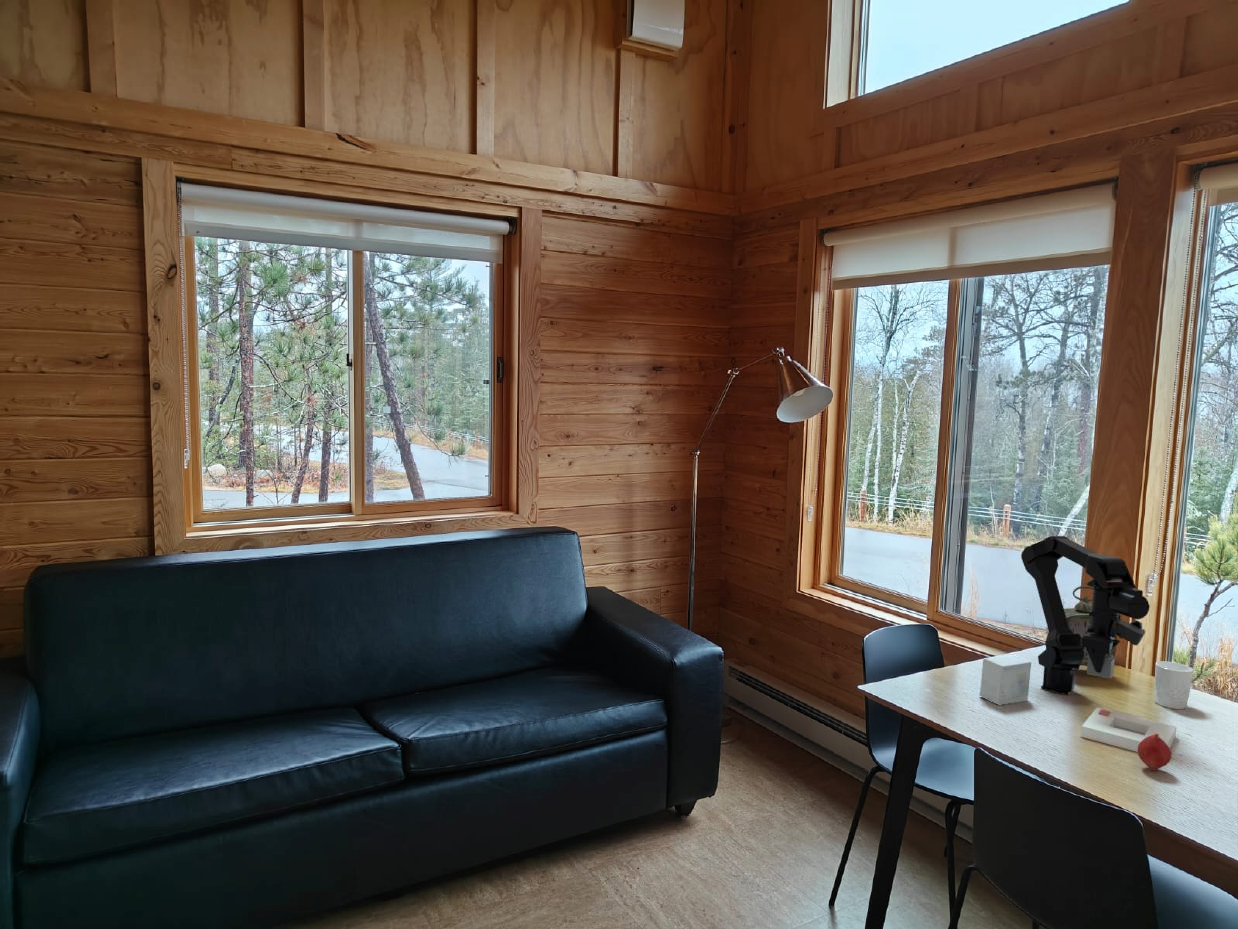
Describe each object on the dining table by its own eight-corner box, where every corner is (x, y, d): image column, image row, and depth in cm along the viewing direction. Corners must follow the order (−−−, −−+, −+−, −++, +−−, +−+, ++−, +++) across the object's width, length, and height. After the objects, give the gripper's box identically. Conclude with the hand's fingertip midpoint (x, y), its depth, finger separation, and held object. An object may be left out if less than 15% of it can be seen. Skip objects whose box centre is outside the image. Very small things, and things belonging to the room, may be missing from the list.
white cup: (1195, 712, 202) (1199, 673, 202) (1160, 708, 204) (1164, 669, 203) (1180, 700, 210) (1184, 662, 209) (1146, 697, 212) (1150, 660, 211)
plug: (1086, 674, 201) (1088, 654, 200) (1090, 670, 204) (1092, 650, 203) (1109, 679, 197) (1111, 659, 197) (1113, 675, 200) (1114, 655, 200)
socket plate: (1080, 736, 185) (1081, 724, 185) (1096, 717, 197) (1097, 706, 197) (1164, 759, 175) (1165, 746, 174) (1175, 737, 187) (1176, 725, 186)
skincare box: (999, 706, 202) (1002, 665, 201) (978, 697, 208) (981, 657, 207) (1029, 701, 206) (1032, 661, 206) (1008, 692, 212) (1010, 653, 211)
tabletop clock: (1058, 676, 226) (1065, 588, 224) (1045, 665, 235) (1052, 580, 233) (1113, 680, 224) (1121, 591, 222) (1099, 669, 233) (1106, 583, 231)
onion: (1129, 763, 172) (1132, 727, 171) (1155, 763, 172) (1158, 727, 172) (1149, 776, 166) (1153, 738, 165) (1176, 776, 167) (1179, 738, 166)
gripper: (1136, 622, 187) (1130, 688, 188) (1150, 608, 201) (1145, 669, 202) (1082, 612, 194) (1077, 676, 195) (1099, 599, 208) (1094, 659, 209)
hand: (1100, 670), depth 200 cm, fingers closed on plug, 4 cm apart
